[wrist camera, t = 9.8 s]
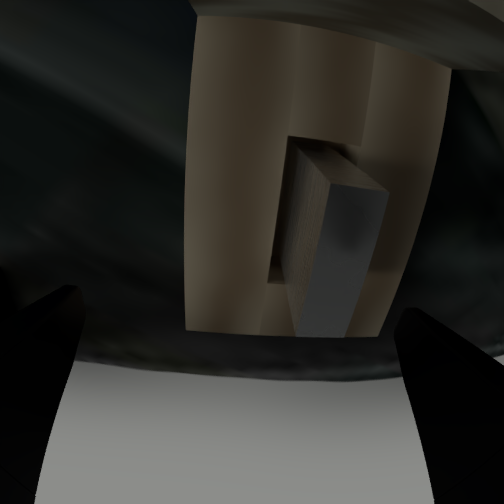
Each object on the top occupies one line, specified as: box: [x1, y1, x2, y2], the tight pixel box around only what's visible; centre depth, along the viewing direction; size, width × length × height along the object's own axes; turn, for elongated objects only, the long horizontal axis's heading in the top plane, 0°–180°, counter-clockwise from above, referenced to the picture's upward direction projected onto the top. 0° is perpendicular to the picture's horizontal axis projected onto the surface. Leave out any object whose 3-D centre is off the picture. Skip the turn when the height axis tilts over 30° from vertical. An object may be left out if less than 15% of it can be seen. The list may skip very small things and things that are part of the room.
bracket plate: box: [276, 141, 390, 338], centre depth 14 cm, size 2×6×8 cm, turn 174°
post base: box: [184, 0, 504, 337], centre depth 13 cm, size 12×18×12 cm, turn 174°
